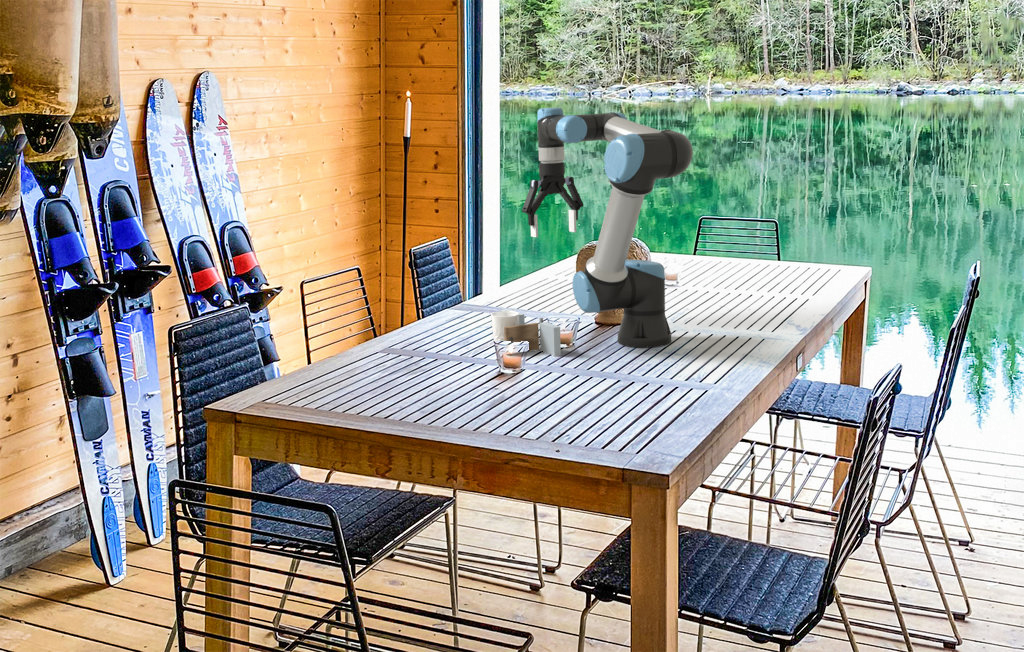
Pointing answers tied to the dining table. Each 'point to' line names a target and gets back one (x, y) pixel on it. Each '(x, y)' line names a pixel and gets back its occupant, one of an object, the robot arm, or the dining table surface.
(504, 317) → the white cup
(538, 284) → the dining table surface
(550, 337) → the wall frame
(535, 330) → the door
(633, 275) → the robot arm
